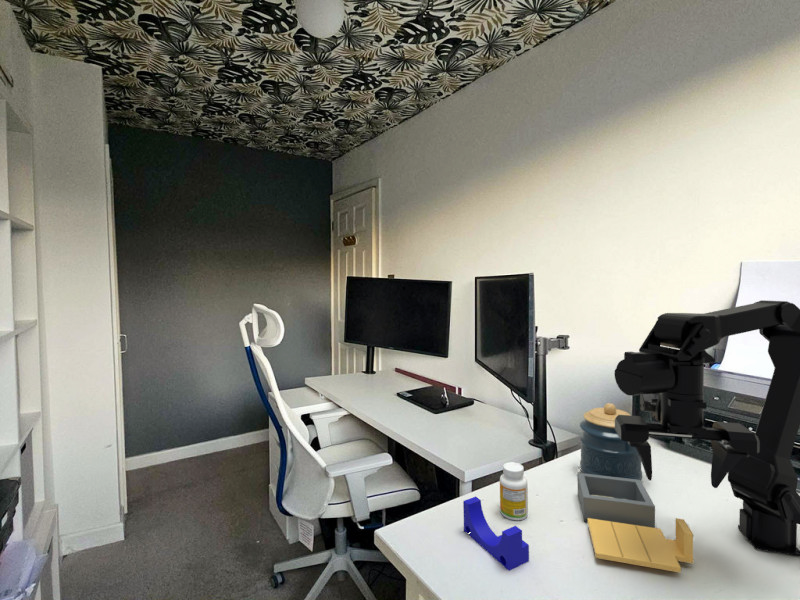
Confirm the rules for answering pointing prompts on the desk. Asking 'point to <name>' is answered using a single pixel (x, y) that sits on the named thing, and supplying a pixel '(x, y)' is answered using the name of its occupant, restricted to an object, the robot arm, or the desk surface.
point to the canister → (607, 446)
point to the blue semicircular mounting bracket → (495, 537)
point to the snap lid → (641, 544)
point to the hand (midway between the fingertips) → (680, 482)
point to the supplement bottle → (513, 492)
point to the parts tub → (615, 500)
